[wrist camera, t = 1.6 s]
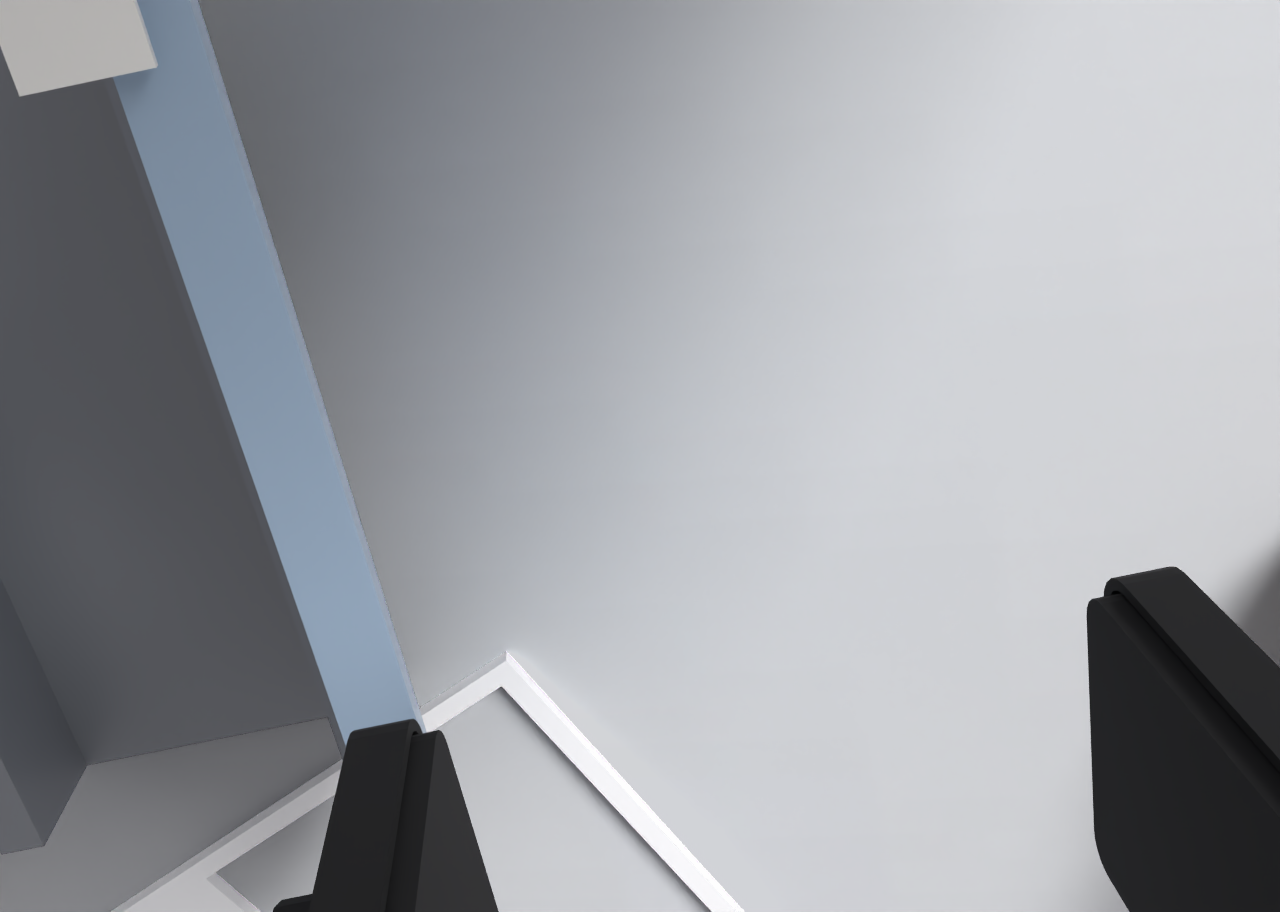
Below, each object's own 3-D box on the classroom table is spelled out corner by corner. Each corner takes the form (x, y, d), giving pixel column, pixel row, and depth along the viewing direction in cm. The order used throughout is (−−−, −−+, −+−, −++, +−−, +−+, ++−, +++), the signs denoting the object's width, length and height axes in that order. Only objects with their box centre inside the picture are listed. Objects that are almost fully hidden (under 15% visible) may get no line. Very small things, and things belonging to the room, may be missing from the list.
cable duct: (-381, -184, 27) (-546, -204, 23) (107, -282, 27) (31, -319, 23) (59, 752, 37) (1, 854, 33) (409, 682, 37) (394, 775, 33)
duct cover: (-240, -582, 12) (-3, -604, 12) (-29, -312, 22) (95, -330, 23) (428, 1169, 22) (541, 1120, 23) (357, 791, 33) (436, 763, 33)
